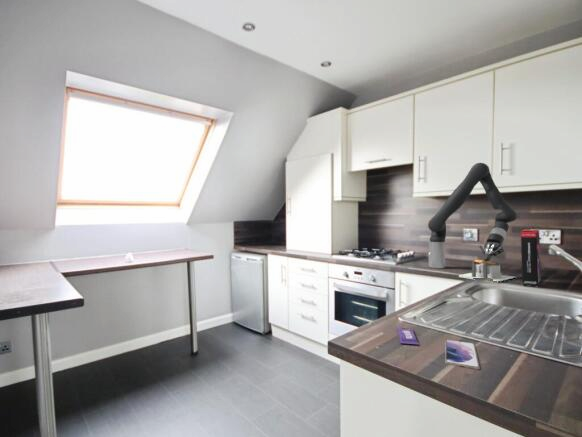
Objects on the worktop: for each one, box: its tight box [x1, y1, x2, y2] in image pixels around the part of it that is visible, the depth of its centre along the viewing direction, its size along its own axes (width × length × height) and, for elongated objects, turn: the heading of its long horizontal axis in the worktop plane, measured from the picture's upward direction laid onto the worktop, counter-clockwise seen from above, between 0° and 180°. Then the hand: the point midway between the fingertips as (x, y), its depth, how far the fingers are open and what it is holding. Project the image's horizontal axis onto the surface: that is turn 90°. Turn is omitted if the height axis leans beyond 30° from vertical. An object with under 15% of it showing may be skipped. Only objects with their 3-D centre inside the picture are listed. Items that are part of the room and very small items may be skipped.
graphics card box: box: [520, 228, 542, 287], centre depth 155 cm, size 17×7×27 cm, turn 138°
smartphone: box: [445, 339, 481, 371], centre depth 78 cm, size 7×1×15 cm
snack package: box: [396, 327, 420, 345], centre depth 89 cm, size 12×2×5 cm
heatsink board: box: [458, 260, 517, 282], centre depth 171 cm, size 20×20×10 cm
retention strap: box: [474, 259, 497, 265], centre depth 171 cm, size 4×1×16 cm
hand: (485, 260), depth 170 cm, fingers closed
